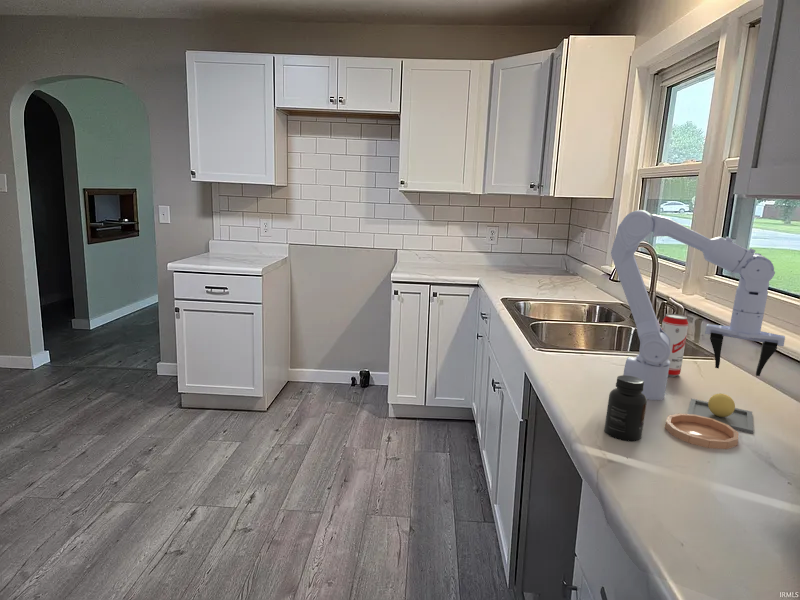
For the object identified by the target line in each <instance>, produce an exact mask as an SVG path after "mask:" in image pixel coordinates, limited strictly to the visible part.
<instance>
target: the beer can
mask: <svg viewBox="0 0 800 600" xmlns="http://www.w3.org/2000/svg"><path fill="white" fill-rule="evenodd" d="M661 329H662V330H663V331H664V332H665V333H666V334H667V335H668V336H669V339H670V355H669V358H668V360H669V361H670V366H669V372H668V377H671V378H672V377H673V378H675V377H678V376H679V375H680V374H681V373H682V372H681V371H682V364H683V359H684V354H685V353H684V352H685V347H686V340H687V335H688V329H689V321H688V317H687V316H686V315H682V314H676V313H666V314H665V317H664V318H663V319H662V322H661Z"/></svg>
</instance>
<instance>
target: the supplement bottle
mask: <svg viewBox="0 0 800 600" xmlns="http://www.w3.org/2000/svg"><path fill="white" fill-rule="evenodd" d="M643 386H644V381H643V380H642V379H640V378H637V377H633V376H627V375H623V374H622V375H618V376H617V378H616V383H615V387H616V388H613V389H612V390H611V391H610V392H609V394H608V401H607V409H606V415H605V423H604V433H605V434H606V436H607V435H608V436H609V437H611V438H613V439H616V440H619V441H623V442H629V443H630V442H639V441H640V440H641V439H642V435H643V431H644V429H643V428H644V423H645V417H646V412H647V411H646V410H647V402H648V399H646V397H645V395H644V394H643V393H641V392H642V391H643Z"/></svg>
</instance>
